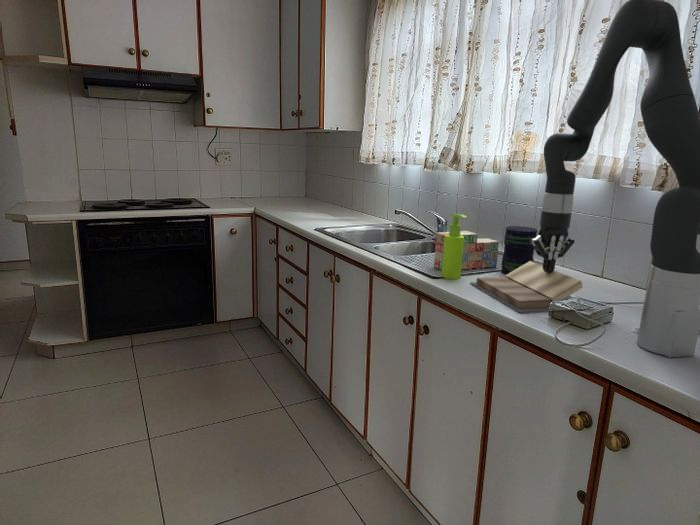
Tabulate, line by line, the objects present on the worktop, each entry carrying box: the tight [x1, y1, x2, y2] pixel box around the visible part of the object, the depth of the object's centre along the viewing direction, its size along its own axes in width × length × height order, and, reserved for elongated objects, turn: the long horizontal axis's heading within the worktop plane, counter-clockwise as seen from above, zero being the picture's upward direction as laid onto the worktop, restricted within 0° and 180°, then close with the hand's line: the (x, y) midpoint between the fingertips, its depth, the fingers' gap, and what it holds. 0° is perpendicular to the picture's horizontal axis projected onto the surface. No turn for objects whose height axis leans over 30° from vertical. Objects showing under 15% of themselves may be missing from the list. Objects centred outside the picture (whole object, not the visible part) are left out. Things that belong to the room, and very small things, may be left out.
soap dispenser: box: [441, 213, 468, 280], centre depth 146 cm, size 6×7×20 cm
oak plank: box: [504, 261, 584, 302], centre depth 131 cm, size 22×9×2 cm, turn 14°
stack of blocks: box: [433, 230, 500, 271], centre depth 160 cm, size 21×6×12 cm, turn 111°
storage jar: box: [500, 225, 538, 276], centre depth 154 cm, size 10×10×15 cm
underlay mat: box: [469, 281, 574, 314], centre depth 131 cm, size 26×22×1 cm
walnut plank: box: [476, 276, 551, 309], centre depth 130 cm, size 22×9×2 cm, turn 14°
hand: (548, 271), depth 131 cm, fingers closed
